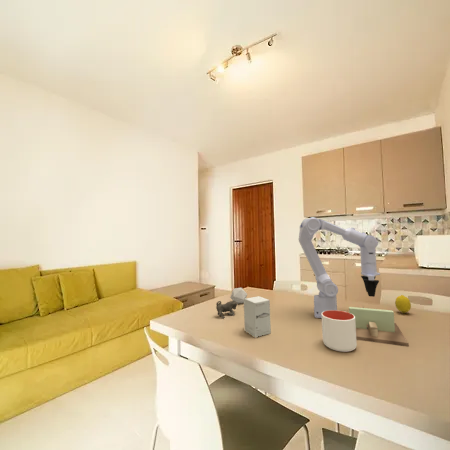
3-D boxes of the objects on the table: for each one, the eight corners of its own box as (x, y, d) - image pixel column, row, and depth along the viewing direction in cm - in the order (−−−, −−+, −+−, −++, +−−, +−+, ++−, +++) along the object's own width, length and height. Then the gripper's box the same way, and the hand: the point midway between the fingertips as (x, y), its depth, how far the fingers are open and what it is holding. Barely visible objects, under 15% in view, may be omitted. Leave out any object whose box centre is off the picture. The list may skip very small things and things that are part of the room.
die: (243, 300, 136) (232, 287, 137) (252, 295, 131) (241, 281, 131) (236, 309, 130) (224, 295, 130) (245, 304, 124) (234, 290, 125)
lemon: (414, 315, 102) (413, 296, 102) (399, 315, 103) (398, 296, 103) (407, 311, 107) (406, 293, 108) (393, 311, 108) (392, 293, 109)
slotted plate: (350, 327, 90) (349, 308, 90) (349, 325, 92) (348, 306, 92) (395, 332, 84) (393, 312, 84) (393, 330, 86) (392, 310, 86)
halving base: (345, 337, 84) (344, 326, 84) (343, 320, 100) (343, 310, 100) (408, 346, 76) (407, 333, 76) (395, 325, 92) (395, 315, 92)
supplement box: (255, 338, 86) (253, 302, 86) (244, 331, 92) (242, 298, 93) (271, 333, 89) (270, 299, 90) (259, 327, 96) (258, 295, 96)
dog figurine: (220, 320, 105) (220, 303, 106) (213, 316, 110) (213, 300, 110) (242, 314, 112) (241, 298, 113) (234, 311, 117) (234, 295, 117)
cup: (355, 356, 71) (353, 322, 72) (320, 349, 76) (318, 317, 77) (357, 342, 80) (356, 312, 80) (325, 336, 85) (324, 308, 85)
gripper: (382, 265, 96) (384, 299, 96) (376, 260, 109) (378, 290, 109) (362, 264, 99) (364, 297, 98) (359, 260, 112) (360, 289, 112)
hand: (370, 294), depth 104 cm, fingers open, 7 cm apart
